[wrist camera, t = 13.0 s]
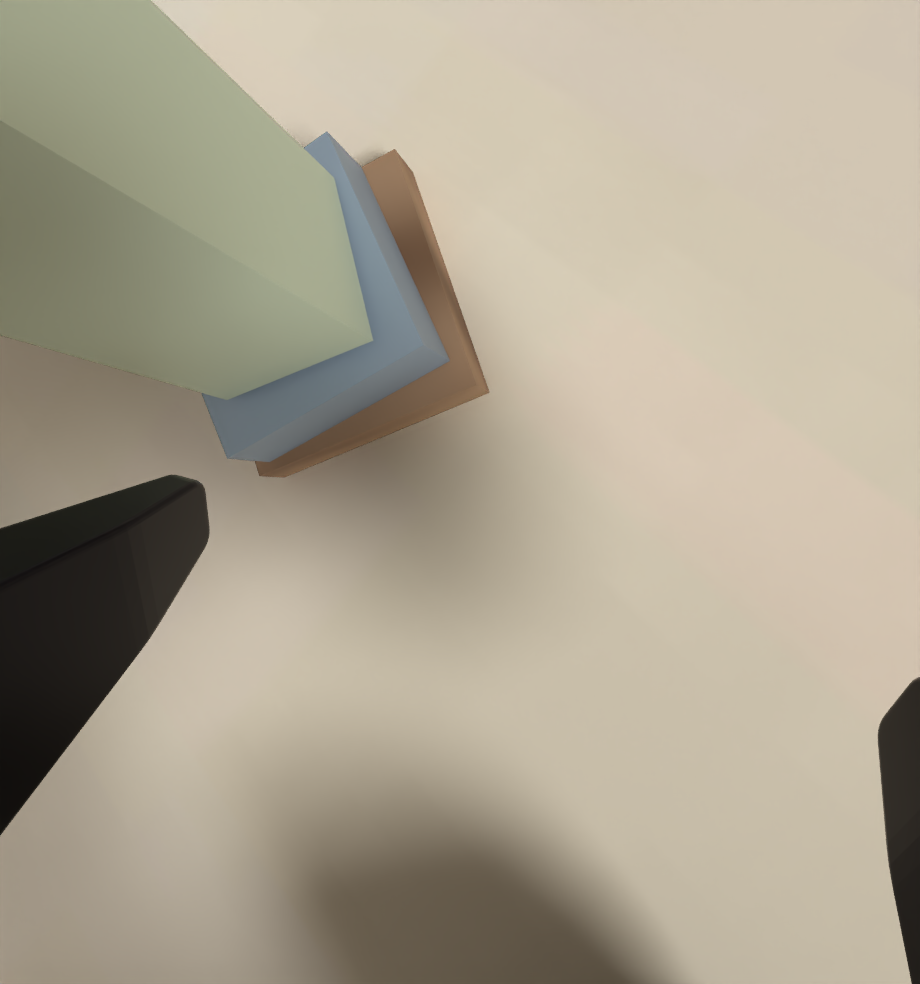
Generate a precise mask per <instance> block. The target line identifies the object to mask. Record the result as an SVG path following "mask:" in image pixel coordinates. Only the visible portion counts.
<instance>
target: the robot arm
mask: <svg viewBox="0 0 920 984" xmlns="http://www.w3.org/2000/svg"><path fill="white" fill-rule="evenodd" d="M208 538H209V520H208V511H207V502H206V493H205V488H204V487H203V485H202V484H201V483H200V482H199V481H197V480H193V479H189V478H186V477H182V476H178V475H168V476H165V477H161V478H158V479H155V480H152V481H149V482H146V483H142V484H139V485H136V486H133V487H130V488H127V489H124V490H120V491H117V492H114V493H111V494H108V495H105V496H101V497H98V498H95V499H92V500H89V501H86V502H83V503H79V504H76V505H73V506H70V507H67V508H64V509H60V510H57V511H54V512H51V513H48V514H45V515H41V516H38V517H35V518H32V519H29V520H26V521H23V522H19V523H16V524H13V525H10V526H7V527H4V528H0V835H1V834H2V833H3V831H4V830H5V829H6V827H7V826H8V825H9V823H10V822H11V821H12V819H13V818H14V817H15V816H16V814H17V813H18V812H19V810H20V809H21V808H22V806H23V805H24V804H25V802H26V801H27V800H28V798H29V797H30V796H31V794H32V793H33V792H34V791H35V789H36V788H37V787H38V785H39V784H40V783H41V781H42V780H43V779H44V777H45V776H46V775H47V773H48V772H49V771H50V770H51V768H52V767H53V766H54V764H55V763H56V762H57V760H58V759H59V758H60V756H61V755H62V754H63V752H64V751H65V750H66V749H67V747H68V746H69V745H70V743H71V742H72V741H73V739H74V738H75V737H76V735H77V734H78V733H79V731H80V730H81V729H82V727H83V726H84V725H85V724H86V722H87V721H88V720H89V718H90V717H91V716H92V714H93V713H94V712H95V710H96V709H97V708H98V706H99V705H100V704H101V703H102V701H103V700H104V699H105V697H106V696H107V695H108V693H109V692H110V691H111V689H112V688H113V687H114V685H115V684H116V683H117V681H118V680H119V679H120V678H121V676H122V675H123V674H124V672H125V671H126V670H127V668H128V667H129V666H130V664H131V663H132V662H133V660H134V659H135V658H136V657H137V655H138V654H139V653H140V651H141V650H142V648H143V647H144V646H145V644H146V643H147V641H148V640H149V639H150V637H151V636H152V634H153V633H154V631H155V629H156V628H157V626H158V625H159V623H160V622H161V620H162V618H163V617H164V615H165V613H166V612H167V610H168V608H169V607H170V605H171V603H172V602H173V600H174V598H175V597H176V595H177V593H178V592H179V590H180V588H181V587H182V585H183V584H184V582H185V580H186V579H187V577H188V575H189V574H190V572H191V570H192V569H193V567H194V565H195V564H196V562H197V560H198V559H199V557H200V555H201V554H202V552H203V550H204V549H205V547H206V544H207V542H208ZM878 747H879V759H880V772H881V784H882V796H883V808H884V820H885V832H886V844H887V853H888V861H889V868H890V874H891V880H892V885H893V891H894V896H895V901H896V906H897V911H898V916H899V921H900V926H901V931H902V936H903V941H904V946H905V952H906V957H907V962H908V967H909V972H910V977H911V982H912V984H920V677H918V678H916V679H914V680H913V681H912V682H911V683H910V684H909V685H908V687H907V688H906V689H905V691H904V692H903V693H902V694H901V696H900V697H899V698H898V699H897V701H896V702H895V703H894V704H893V706H892V707H891V708H890V709H889V711H888V712H887V713H886V714H885V716H884V717H883V719H882V721H881V723H880V726H879V730H878Z"/></svg>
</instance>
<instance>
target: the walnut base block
mask: <svg viewBox="0 0 920 984" xmlns="http://www.w3.org/2000/svg"><path fill="white" fill-rule="evenodd" d="M362 169H363V172H364V174H365V176H366V178H367V180H368V183H369V185H370V187H371V189H372V191H373V193H374V196H375V198H376V200H377V202H378V204H379V207H380V209H381V211H382V213H383V215H384V217H385V220H386V222H387V224H388V226H389V228H390V231H391V233H392V235H393V237H394V239H395V242H396V244H397V246H398V248H399V250H400V252H401V255H402V257H403V259H404V261H405V263H406V266H407V268H408V270H409V272H410V274H411V276H412V279H413V281H414V283H415V285H416V287H417V290H418V292H419V294H420V296H421V298H422V300H423V303H424V305H425V307H426V309H427V311H428V314H429V316H430V318H431V320H432V322H433V324H434V327H435V329H436V331H437V333H438V335H439V338H440V340H441V342H442V344H443V346H444V348H445V351H446V353H447V355H448V357H449V359H450V361H449V362H447V363H445V364H443V365H442V366H440V367H438V368H436V369H435V370H433V371H431V372H429V373H427V374H426V375H424V376H422V377H420V378H419V379H417V380H415V381H413V382H411V383H410V384H408V385H406V386H404V387H403V388H401V389H399V390H397V391H395V392H394V393H392V394H390V395H388V396H387V397H385V398H383V399H381V400H380V401H378V402H376V403H374V404H372V405H371V406H369V407H367V408H365V409H364V410H362V411H360V412H358V413H356V414H355V415H353V416H351V417H349V418H348V419H346V420H344V421H342V422H340V423H339V424H337V425H335V426H333V427H332V428H330V429H328V430H326V431H324V432H323V433H321V434H319V435H317V436H316V437H314V438H312V439H310V440H308V441H307V442H305V443H303V444H301V445H299V446H298V447H296V448H294V449H292V450H290V451H289V452H287V453H285V454H283V455H282V456H280V457H278V458H276V459H274V460H273V461H271V462H263V461H255V463H256V466H257V470H258V473H259V476H268V477H287V476H289V475H291V474H294V473H296V472H299V471H301V470H303V469H306V468H308V467H311V466H313V465H316V464H318V463H320V462H323V461H325V460H328V459H330V458H332V457H335V456H337V455H340V454H342V453H345V452H347V451H349V450H352V449H354V448H357V447H359V446H362V445H364V444H366V443H369V442H371V441H374V440H376V439H378V438H381V437H383V436H386V435H388V434H391V433H393V432H395V431H398V430H400V429H403V428H405V427H407V426H410V425H412V424H415V423H417V422H420V421H422V420H424V419H427V418H429V417H432V416H434V415H436V414H439V413H441V412H444V411H446V410H449V409H451V408H453V407H456V406H458V405H461V404H463V403H465V402H468V401H470V400H473V399H475V398H478V397H480V396H482V395H485V394H487V393H489V390H488V387H487V384H486V381H485V378H484V375H483V372H482V370H481V367H480V364H479V361H478V358H477V355H476V352H475V349H474V347H473V344H472V341H471V338H470V335H469V332H468V329H467V326H466V324H465V321H464V318H463V315H462V312H461V309H460V306H459V303H458V301H457V298H456V295H455V292H454V289H453V286H452V283H451V280H450V278H449V275H448V272H447V269H446V266H445V263H444V260H443V257H442V255H441V252H440V249H439V246H438V243H437V240H436V237H435V235H434V232H433V229H432V226H431V223H430V220H429V217H428V214H427V212H426V209H425V206H424V203H423V200H422V197H421V194H420V191H419V189H418V186H417V183H416V180H415V177H414V174H413V172H412V171H411V169H410V168H409V167H408V165H407V164H406V163H405V162H404V160H403V159H402V158H401V156H400V155H399V154H398V153H397V151H396V150H395V149H394V150H392V151H390V152H388V153H387V154H385V155H383V156H381V157H379V158H377V159H376V160H374V161H372V162H370V163H368V164H367V165H365V166H363V167H362Z"/></svg>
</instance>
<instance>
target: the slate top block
mask: <svg viewBox="0 0 920 984" xmlns="http://www.w3.org/2000/svg"><path fill="white" fill-rule="evenodd" d="M304 149H305V150H306V151H307V152H308V153H309V154H310V155H311V156H312V157H313V158H314V159H315V160H316V161H317V162H318V163H319V164H320V165H322V166H323V167H324V168H325V169H326V170H327V171H328V172H329V173H330V174H331V175H332V176H333V177H334V179H335V183H336V187H337V191H338V196H339V200H340V204H341V208H342V212H343V216H344V221H345V225H346V229H347V233H348V237H349V242H350V246H351V250H352V254H353V258H354V262H355V267H356V271H357V275H358V279H359V283H360V287H361V292H362V296H363V300H364V304H365V308H366V313H367V317H368V321H369V325H370V329H371V333H372V338H373V341H371V342H369V343H366V344H364V345H361V346H359V347H356V348H354V349H351V350H349V351H347V352H344V353H342V354H339V355H337V356H334V357H332V358H329V359H327V360H324V361H322V362H320V363H317V364H315V365H312V366H310V367H307V368H305V369H302V370H300V371H297V372H295V373H292V374H290V375H288V376H285V377H283V378H280V379H278V380H275V381H273V382H270V383H268V384H265V385H263V386H261V387H258V388H256V389H253V390H251V391H248V392H246V393H243V394H241V395H238V396H236V397H233V398H231V399H229V400H225V399H221V398H218V397H214V396H211V395H207V394H204V393H202V396H203V398H204V401H205V403H206V406H207V408H208V411H209V413H210V416H211V418H212V421H213V423H214V426H215V429H216V431H217V434H218V436H219V439H220V441H221V444H222V446H223V449H224V451H225V454H226V456H227V459H238V460H250V461H263V462H271V461H273V460H274V459H276V458H278V457H280V456H282V455H283V454H285V453H287V452H289V451H290V450H292V449H294V448H296V447H298V446H299V445H301V444H303V443H305V442H307V441H308V440H310V439H312V438H314V437H316V436H317V435H319V434H321V433H323V432H324V431H326V430H328V429H330V428H332V427H333V426H335V425H337V424H339V423H340V422H342V421H344V420H346V419H348V418H349V417H351V416H353V415H355V414H356V413H358V412H360V411H362V410H364V409H365V408H367V407H369V406H371V405H372V404H374V403H376V402H378V401H380V400H381V399H383V398H385V397H387V396H388V395H390V394H392V393H394V392H395V391H397V390H399V389H401V388H403V387H404V386H406V385H408V384H410V383H411V382H413V381H415V380H417V379H419V378H420V377H422V376H424V375H426V374H427V373H429V372H431V371H433V370H435V369H436V368H438V367H440V366H442V365H443V364H445V363H447V362H449V361H450V359H449V357H448V355H447V353H446V351H445V348H444V346H443V344H442V342H441V340H440V338H439V335H438V333H437V331H436V329H435V327H434V324H433V322H432V320H431V318H430V316H429V314H428V311H427V309H426V307H425V305H424V303H423V300H422V298H421V296H420V294H419V292H418V290H417V287H416V285H415V283H414V281H413V279H412V276H411V274H410V272H409V270H408V268H407V266H406V263H405V261H404V259H403V257H402V255H401V252H400V250H399V248H398V246H397V244H396V242H395V239H394V237H393V235H392V233H391V231H390V228H389V226H388V224H387V222H386V220H385V217H384V215H383V213H382V211H381V209H380V207H379V204H378V202H377V200H376V198H375V196H374V193H373V191H372V189H371V187H370V185H369V183H368V180H367V178H366V176H365V174H364V172H363V169H362V167H361V166H360V165H359V164H358V163H357V162H356V161H355V160H354V159H353V158H352V157H351V156H350V155H349V154H348V153H347V152H346V151H345V150H344V149H343V148H342V147H341V146H340V145H339V143H338V142H337V141H336V140H335V139H334V138H333V137H332V136H331V135H330V134H329V133H328V132H325V133H324V134H322V135H321V136H320V137H318V138H317V139H316V140H314V141H313V142H311V143H310V144H309V145H307V146H306V147H304Z"/></svg>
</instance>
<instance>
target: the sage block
mask: <svg viewBox="0 0 920 984" xmlns="http://www.w3.org/2000/svg"><path fill="white" fill-rule="evenodd" d="M0 335H1V336H5V337H8V338H12V339H15V340H19V341H22V342H26V343H29V344H33V345H36V346H40V347H43V348H46V349H50V350H53V351H57V352H60V353H64V354H67V355H71V356H74V357H78V358H81V359H85V360H88V361H92V362H95V363H99V364H102V365H106V366H109V367H113V368H116V369H120V370H123V371H127V372H130V373H134V374H137V375H141V376H144V377H148V378H151V379H155V380H158V381H162V382H165V383H169V384H172V385H176V386H179V387H183V388H186V389H190V390H193V391H197V392H200V393H204V394H207V395H211V396H214V397H218V398H221V399H225V400H229V399H231V398H233V397H236V396H238V395H241V394H243V393H246V392H248V391H251V390H253V389H256V388H258V387H261V386H263V385H265V384H268V383H270V382H273V381H275V380H278V379H280V378H283V377H285V376H288V375H290V374H292V373H295V372H297V371H300V370H302V369H305V368H307V367H310V366H312V365H315V364H317V363H320V362H322V361H324V360H327V359H329V358H332V357H334V356H337V355H339V354H342V353H344V352H347V351H349V350H351V349H354V348H356V347H359V346H361V345H364V344H366V343H369V342H371V341H373V338H372V333H371V329H370V325H369V321H368V317H367V313H366V308H365V304H364V300H363V296H362V292H361V287H360V283H359V279H358V275H357V271H356V267H355V262H354V258H353V254H352V250H351V246H350V242H349V237H348V233H347V229H346V225H345V221H344V216H343V212H342V208H341V204H340V200H339V196H338V191H337V187H336V183H335V179H334V177H333V176H332V175H331V174H330V173H329V172H328V171H327V170H326V169H325V168H324V167H323V166H322V165H320V164H319V163H318V162H317V161H316V160H315V159H314V158H313V157H312V156H311V155H310V154H309V153H308V152H307V151H306V150H305V149H304V148H303V147H302V146H301V145H300V144H299V143H298V142H297V141H296V140H295V139H294V138H293V137H292V136H290V135H289V134H288V133H287V132H286V131H285V130H284V129H283V128H282V127H281V126H280V125H279V124H278V123H277V122H276V121H275V120H274V119H273V118H272V117H271V116H270V115H269V114H268V113H267V112H266V111H265V110H264V109H263V108H262V107H261V106H259V105H258V104H257V103H256V102H255V101H254V100H253V99H252V98H251V97H250V96H249V95H248V94H247V93H246V92H245V91H244V90H243V89H242V88H241V87H240V86H239V85H238V84H237V83H236V82H235V81H234V80H233V79H232V78H231V77H229V76H228V75H227V74H226V73H225V72H224V71H223V70H222V69H221V68H220V67H219V66H218V65H217V64H216V63H215V62H214V61H213V60H212V59H211V58H210V57H209V56H208V55H207V54H206V53H205V52H204V51H203V50H202V49H201V48H200V47H198V46H197V45H196V44H195V43H194V42H193V41H192V40H191V39H190V38H189V37H188V36H187V35H186V34H185V33H184V32H183V31H182V30H181V29H180V28H179V27H178V26H177V25H176V24H175V23H174V22H173V21H172V20H171V19H170V18H168V17H167V16H166V15H165V14H164V13H163V12H162V11H161V10H160V9H159V8H158V7H157V6H156V5H155V4H154V3H153V2H152V1H151V0H0Z"/></svg>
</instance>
